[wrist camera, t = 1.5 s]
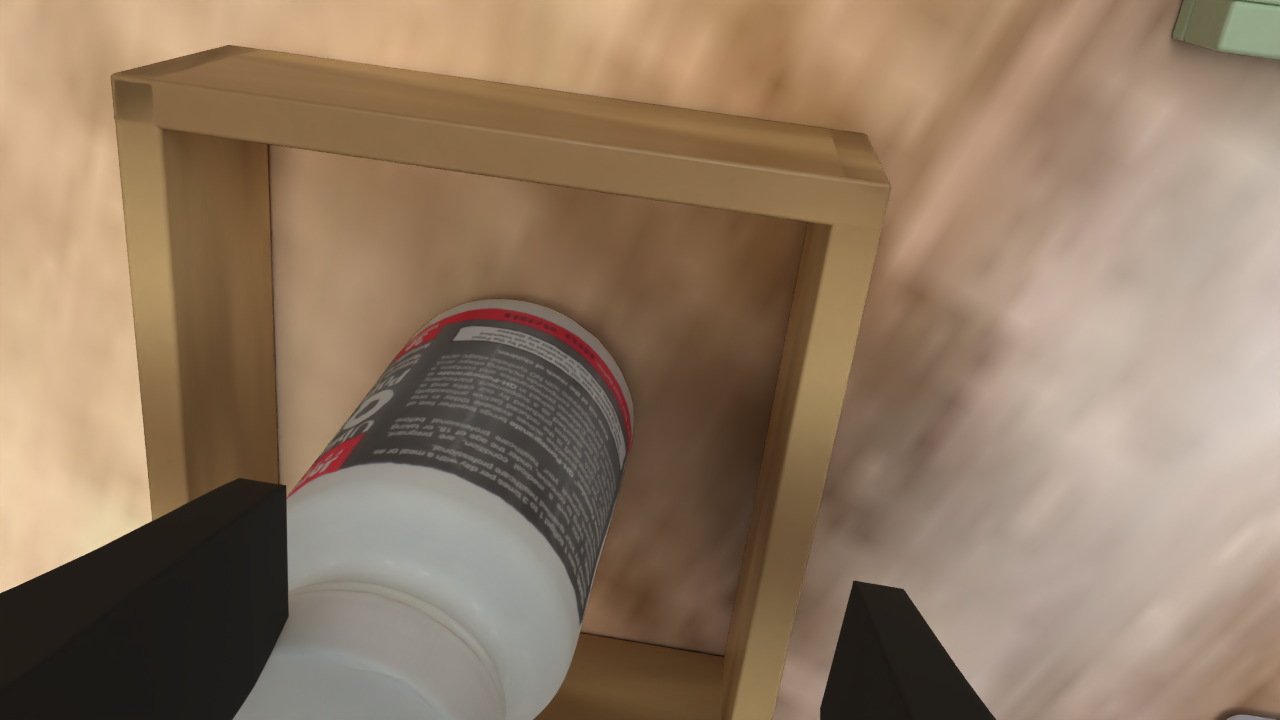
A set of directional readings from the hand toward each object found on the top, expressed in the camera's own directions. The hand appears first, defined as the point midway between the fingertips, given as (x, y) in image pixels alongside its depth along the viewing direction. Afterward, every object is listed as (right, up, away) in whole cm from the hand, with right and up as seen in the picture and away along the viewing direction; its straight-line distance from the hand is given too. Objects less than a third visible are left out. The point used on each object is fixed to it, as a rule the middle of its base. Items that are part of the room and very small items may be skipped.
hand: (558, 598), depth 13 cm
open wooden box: (-2, +2, +10) cm, 10 cm away
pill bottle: (-2, +2, +10) cm, 10 cm away
